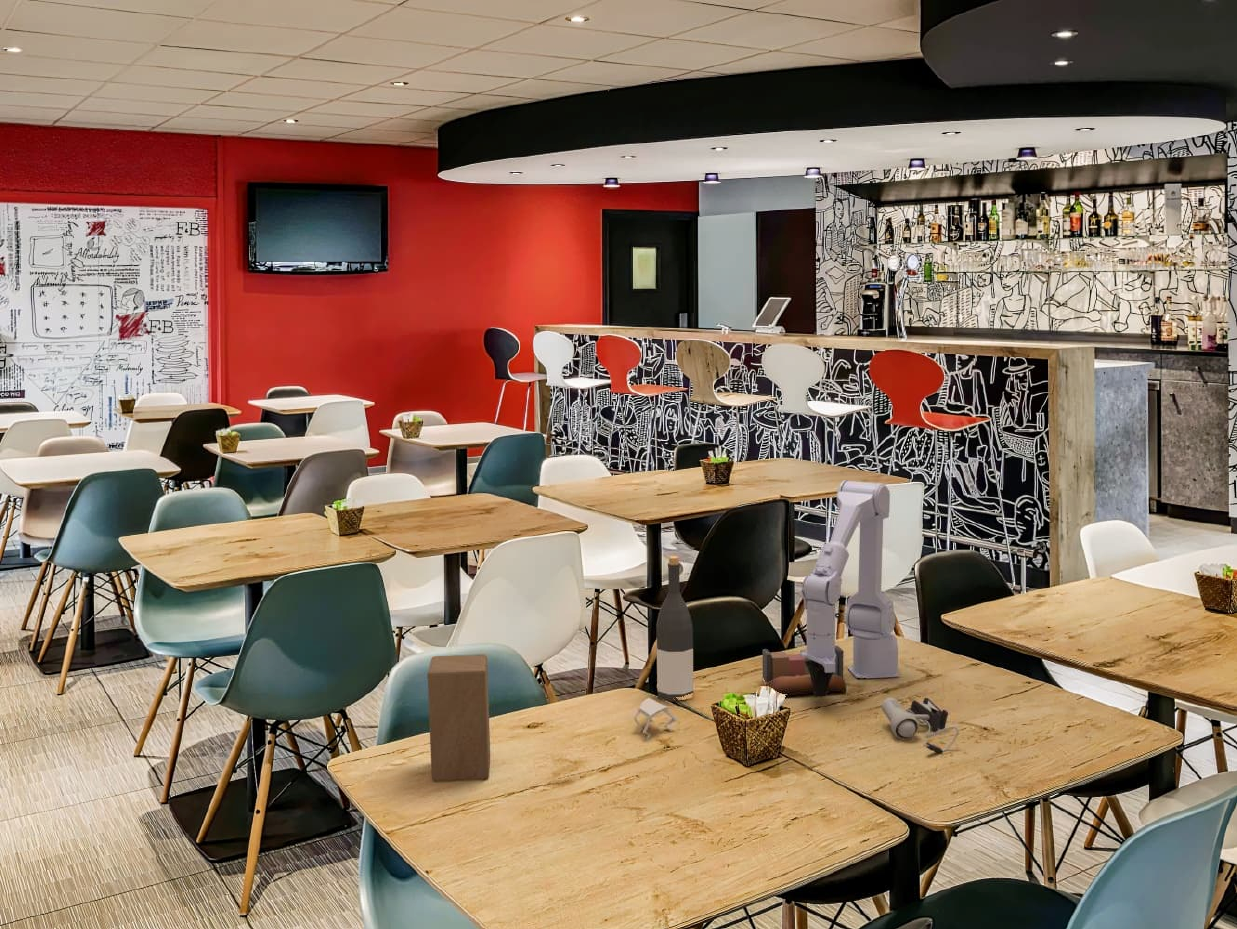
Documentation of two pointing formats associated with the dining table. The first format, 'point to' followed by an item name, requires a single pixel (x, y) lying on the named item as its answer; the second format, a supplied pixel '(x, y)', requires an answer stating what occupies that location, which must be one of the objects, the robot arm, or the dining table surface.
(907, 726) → the clip-on lamp
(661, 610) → the wine bottle
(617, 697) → the dining table surface
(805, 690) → the sunglasses case
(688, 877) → the dining table surface
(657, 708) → the grey legged block
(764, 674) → the book row
